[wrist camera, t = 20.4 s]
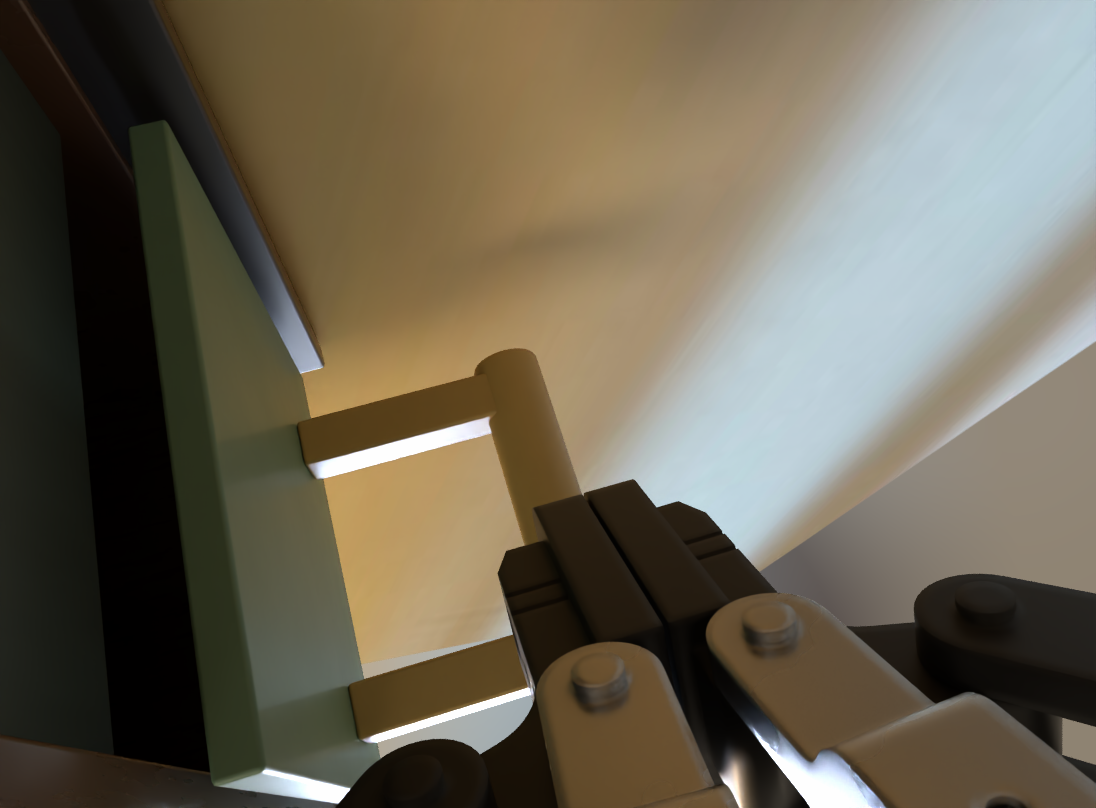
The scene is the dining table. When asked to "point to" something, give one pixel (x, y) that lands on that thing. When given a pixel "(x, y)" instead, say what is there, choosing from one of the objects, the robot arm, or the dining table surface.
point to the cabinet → (101, 415)
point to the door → (302, 508)
